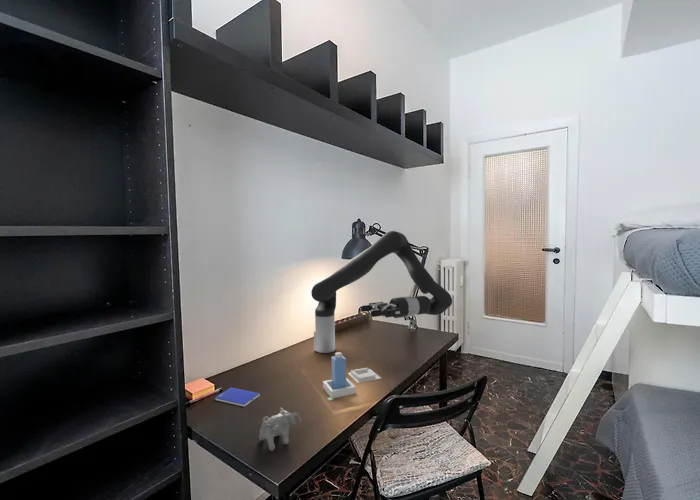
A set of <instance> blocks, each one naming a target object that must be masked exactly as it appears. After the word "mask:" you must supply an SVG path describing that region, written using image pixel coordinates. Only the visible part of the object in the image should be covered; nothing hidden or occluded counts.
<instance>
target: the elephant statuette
mask: <svg viewBox="0 0 700 500" xmlns="http://www.w3.org/2000/svg"><path fill="white" fill-rule="evenodd" d="M295 417H297V419H298V421H299V422H300V423H302V421H303V418H302V417H301V415H300V414H299V412H292V413H291V412H289V411H288V410H284V408H283V407H282V406H281V407H280V408H279V413H277V414H273V415H271V417H269V416H264V417H263V418H262V424H261V426H260V429H259V437H258V438H259V440H260V441H264V440H266V441H267V445H268V450H269V451H271V452H274V450H275V449H276V444H275V442H274V438H275V437H280V436H281V439H282V443H283V445H288V444H289V443H290V438H289V434H290V430H289V429H290V426H294V425H295V424H296V418H295Z"/></svg>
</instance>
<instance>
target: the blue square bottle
mask: <svg viewBox="0 0 700 500" xmlns="http://www.w3.org/2000/svg"><path fill="white" fill-rule="evenodd" d="M346 377H347V358H346V357H345V356H344V355H343V353H342V352H340V351H339V352H335V353H334V355H333V356H331V380H332V387H331V388H332V389H333V390H335V389H340V388H345V387H346Z"/></svg>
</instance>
